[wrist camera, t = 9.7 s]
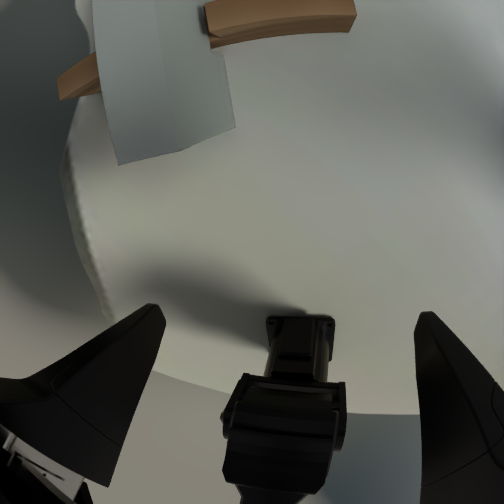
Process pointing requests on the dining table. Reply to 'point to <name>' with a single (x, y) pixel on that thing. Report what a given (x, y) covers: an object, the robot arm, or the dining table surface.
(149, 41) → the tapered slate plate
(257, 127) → the dining table surface
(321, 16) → the slotted walnut board
